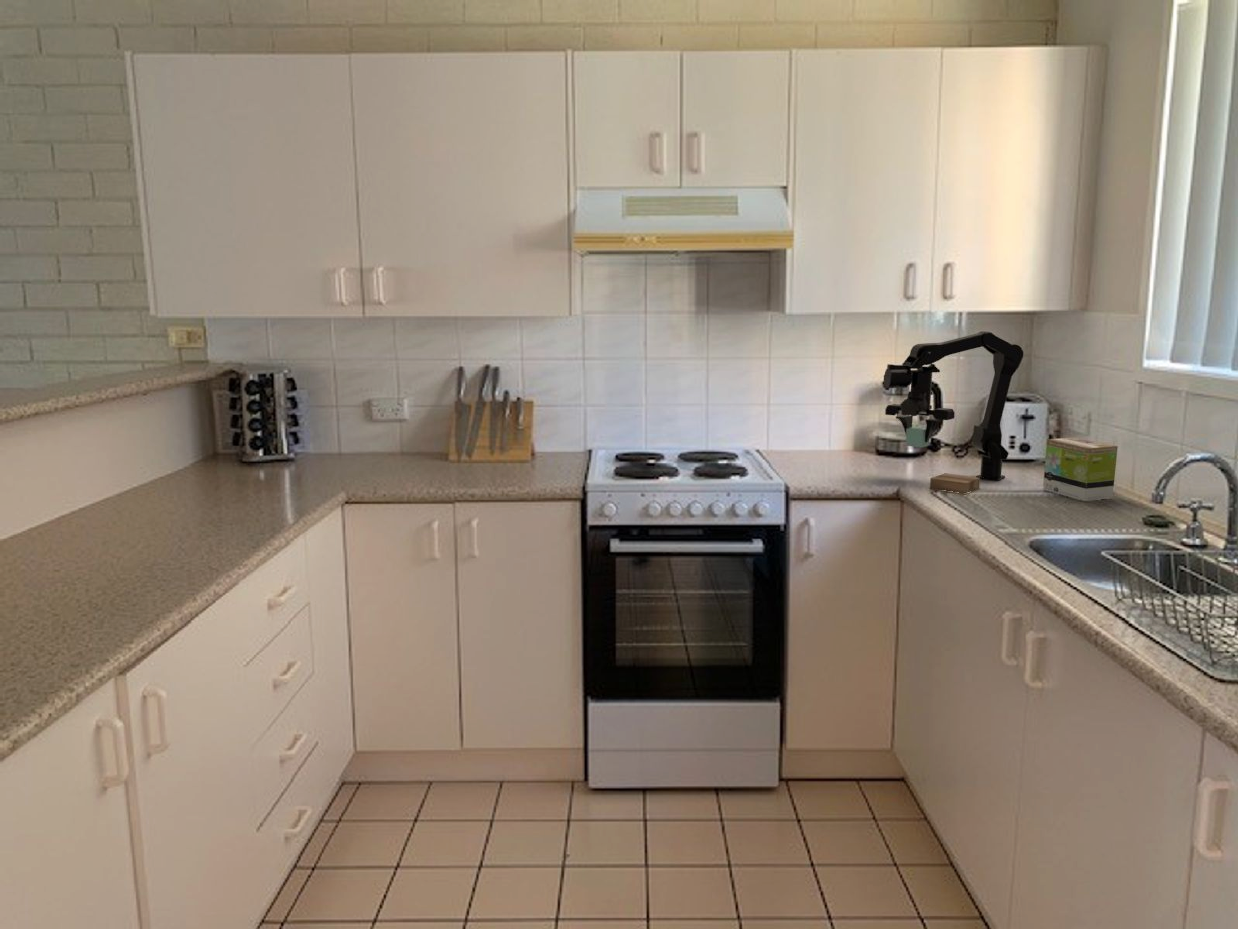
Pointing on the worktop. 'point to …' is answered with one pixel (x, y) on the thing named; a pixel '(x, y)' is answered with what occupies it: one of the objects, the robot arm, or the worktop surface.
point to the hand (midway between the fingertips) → (917, 441)
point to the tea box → (1080, 468)
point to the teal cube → (916, 437)
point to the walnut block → (954, 483)
